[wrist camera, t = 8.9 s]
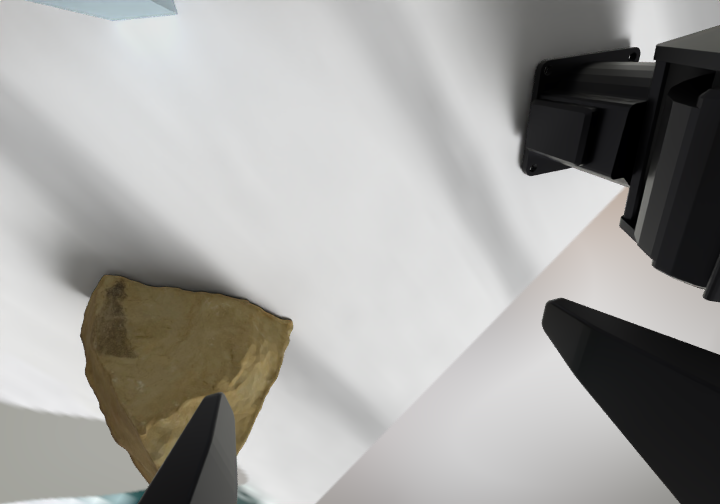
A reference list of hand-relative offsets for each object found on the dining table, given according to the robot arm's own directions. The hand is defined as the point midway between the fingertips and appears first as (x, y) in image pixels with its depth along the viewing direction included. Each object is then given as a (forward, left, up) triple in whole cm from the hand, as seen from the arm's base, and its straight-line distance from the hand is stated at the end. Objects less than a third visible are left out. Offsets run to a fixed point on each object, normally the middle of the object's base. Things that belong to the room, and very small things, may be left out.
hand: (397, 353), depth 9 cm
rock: (+9, +6, -13) cm, 17 cm away
